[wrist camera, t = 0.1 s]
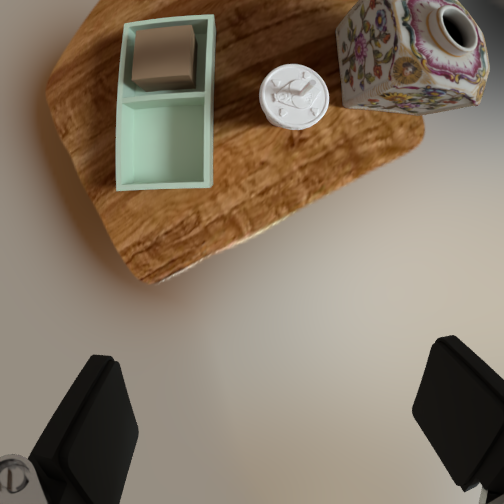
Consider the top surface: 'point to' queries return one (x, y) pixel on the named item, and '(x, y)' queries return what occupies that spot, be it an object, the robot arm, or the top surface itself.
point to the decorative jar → (411, 57)
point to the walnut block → (165, 58)
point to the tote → (166, 118)
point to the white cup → (293, 97)
